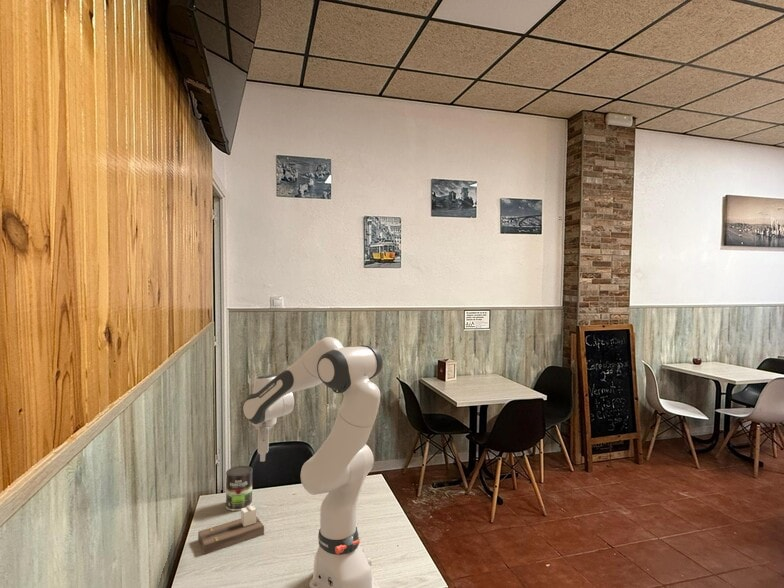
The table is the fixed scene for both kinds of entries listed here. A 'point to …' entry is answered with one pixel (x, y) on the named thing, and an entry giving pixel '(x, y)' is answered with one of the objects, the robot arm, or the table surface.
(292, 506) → the table surface
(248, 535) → the brown slider board
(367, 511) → the table surface
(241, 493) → the coffee can
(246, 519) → the fader tab
